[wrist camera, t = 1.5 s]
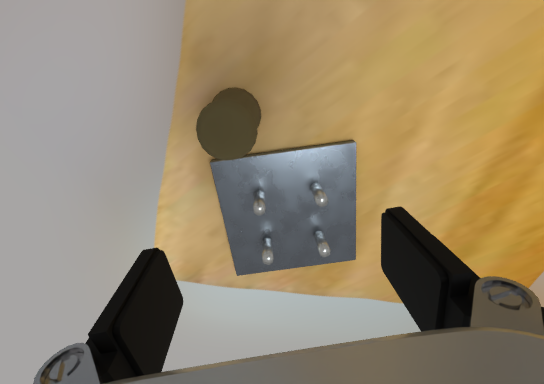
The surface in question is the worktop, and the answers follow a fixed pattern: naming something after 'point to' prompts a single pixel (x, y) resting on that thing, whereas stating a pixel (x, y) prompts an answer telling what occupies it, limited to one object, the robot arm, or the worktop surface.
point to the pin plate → (289, 206)
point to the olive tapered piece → (229, 124)
